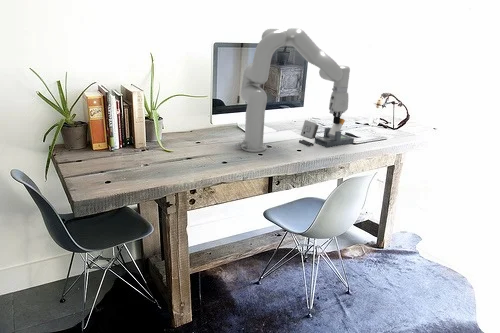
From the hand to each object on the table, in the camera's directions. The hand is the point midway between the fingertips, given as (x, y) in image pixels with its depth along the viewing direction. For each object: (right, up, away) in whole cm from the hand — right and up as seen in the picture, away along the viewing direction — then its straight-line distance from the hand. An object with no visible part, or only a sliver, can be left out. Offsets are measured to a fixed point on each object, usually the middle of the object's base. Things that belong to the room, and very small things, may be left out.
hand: (336, 123), depth 211 cm
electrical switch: (-13, -6, +16) cm, 21 cm away
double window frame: (0, -11, +4) cm, 11 cm away
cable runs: (-16, -11, 0) cm, 20 cm away
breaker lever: (-2, -7, +2) cm, 7 cm away
